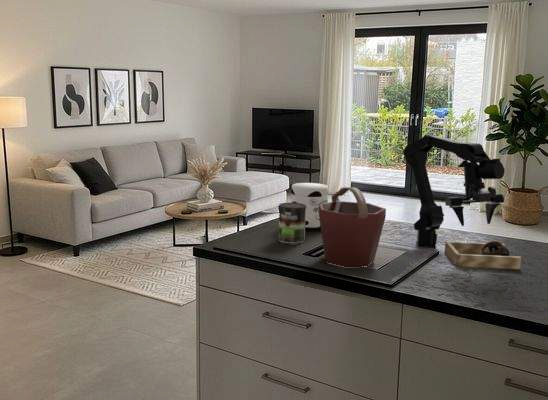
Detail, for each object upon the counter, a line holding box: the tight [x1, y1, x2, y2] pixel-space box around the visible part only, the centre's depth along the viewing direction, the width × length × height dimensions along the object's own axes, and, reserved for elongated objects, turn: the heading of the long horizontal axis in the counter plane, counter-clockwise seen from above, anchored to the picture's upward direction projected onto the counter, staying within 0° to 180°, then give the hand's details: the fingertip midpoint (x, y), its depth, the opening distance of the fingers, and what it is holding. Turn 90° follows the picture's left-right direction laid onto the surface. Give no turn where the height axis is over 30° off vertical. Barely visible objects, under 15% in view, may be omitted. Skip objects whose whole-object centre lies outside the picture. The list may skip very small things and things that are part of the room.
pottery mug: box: [480, 240, 511, 256], centre depth 191 cm, size 12×10×8 cm
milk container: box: [290, 182, 329, 230], centre depth 232 cm, size 17×17×18 cm
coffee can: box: [278, 202, 306, 244], centre depth 210 cm, size 10×10×14 cm
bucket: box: [319, 186, 387, 267], centre depth 185 cm, size 24×22×25 cm
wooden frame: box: [444, 241, 522, 270], centre depth 191 cm, size 21×17×4 cm
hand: (475, 224), depth 190 cm, fingers open, 9 cm apart
